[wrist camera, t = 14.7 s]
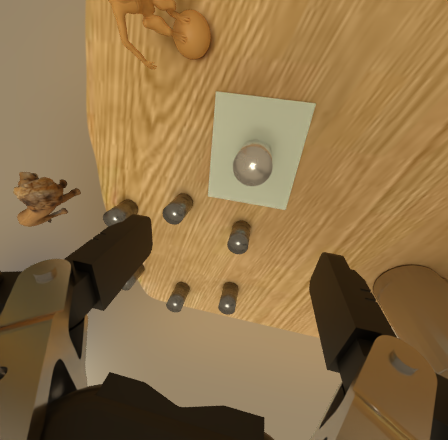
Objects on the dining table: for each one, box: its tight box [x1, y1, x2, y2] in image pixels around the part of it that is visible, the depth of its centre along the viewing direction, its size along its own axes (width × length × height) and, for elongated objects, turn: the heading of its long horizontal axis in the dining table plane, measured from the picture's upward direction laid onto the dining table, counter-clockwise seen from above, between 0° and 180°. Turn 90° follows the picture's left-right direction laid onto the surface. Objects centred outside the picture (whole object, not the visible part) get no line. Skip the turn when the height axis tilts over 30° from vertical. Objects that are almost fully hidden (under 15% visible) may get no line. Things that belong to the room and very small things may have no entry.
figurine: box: [108, 0, 210, 69], centre depth 19 cm, size 8×6×12 cm
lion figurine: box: [14, 172, 81, 227], centre depth 35 cm, size 15×5×9 cm, turn 139°
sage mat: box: [208, 91, 316, 210], centre depth 29 cm, size 12×14×1 cm
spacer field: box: [103, 193, 250, 314], centre depth 37 cm, size 23×23×5 cm
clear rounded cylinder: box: [233, 139, 273, 186], centre depth 26 cm, size 4×4×6 cm
